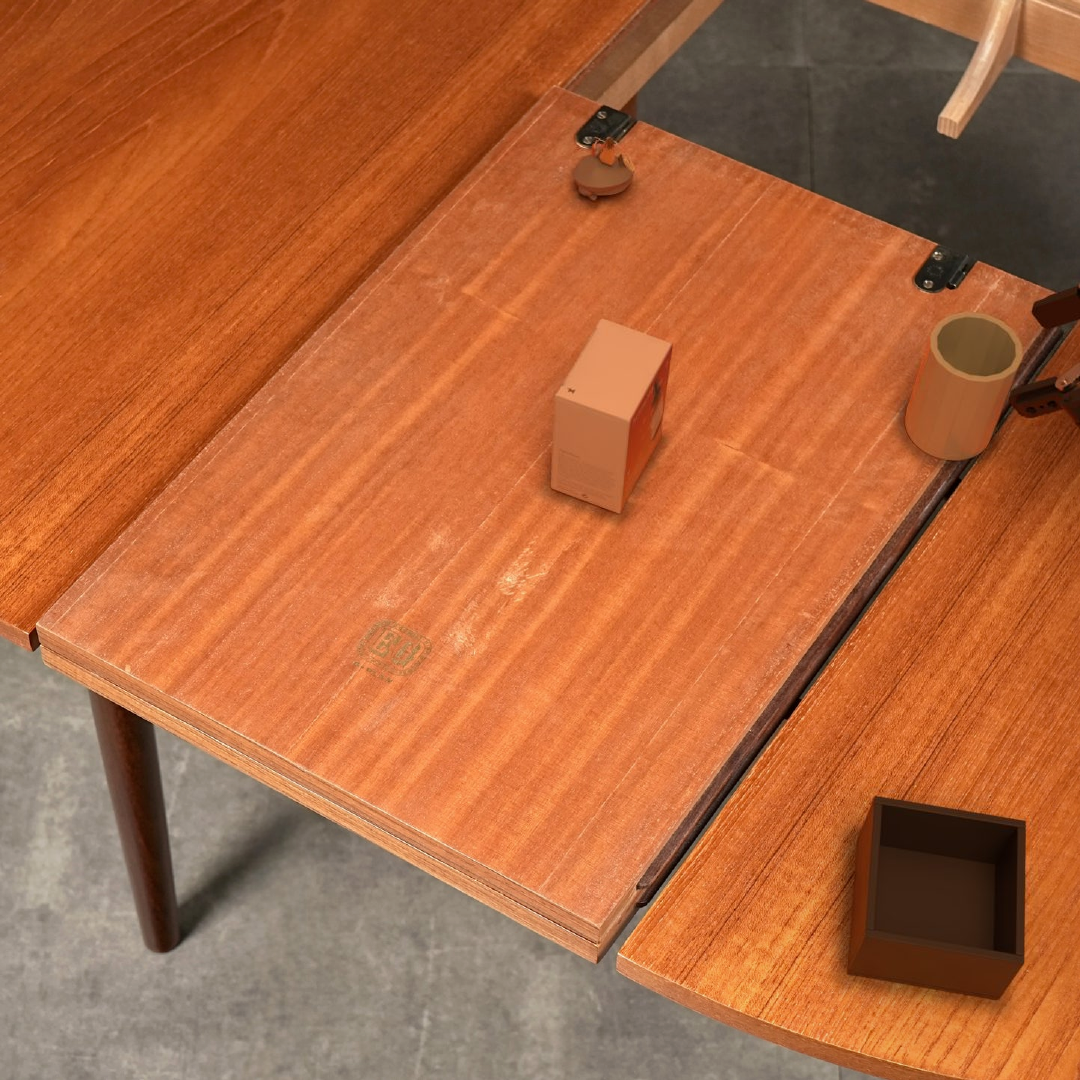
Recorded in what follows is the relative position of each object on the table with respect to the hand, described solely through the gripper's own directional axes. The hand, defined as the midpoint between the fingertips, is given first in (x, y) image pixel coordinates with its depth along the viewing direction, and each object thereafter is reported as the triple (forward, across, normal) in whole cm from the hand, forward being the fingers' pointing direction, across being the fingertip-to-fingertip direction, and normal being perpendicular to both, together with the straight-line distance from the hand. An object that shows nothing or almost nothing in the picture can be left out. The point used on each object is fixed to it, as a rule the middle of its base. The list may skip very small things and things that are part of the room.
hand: (1026, 360), depth 118 cm
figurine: (+31, -14, -19) cm, 39 cm away
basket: (+4, +39, +8) cm, 40 cm away
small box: (+25, +12, -12) cm, 30 cm away
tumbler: (+9, 0, +4) cm, 9 cm away
